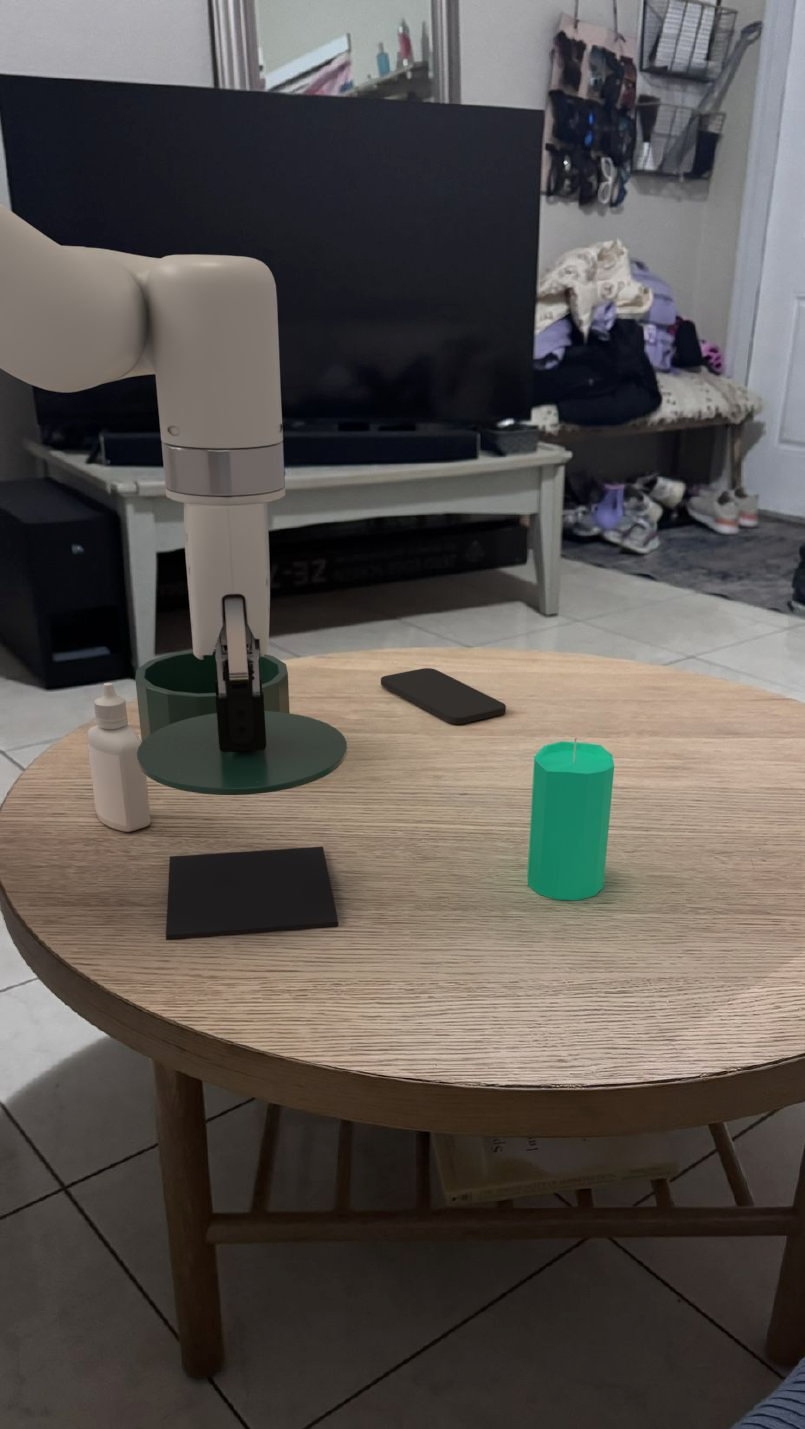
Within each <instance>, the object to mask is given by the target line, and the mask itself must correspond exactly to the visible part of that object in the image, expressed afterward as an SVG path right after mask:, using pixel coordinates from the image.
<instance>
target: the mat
mask: <svg viewBox="0 0 805 1429" xmlns="http://www.w3.org/2000/svg"><path fill="white" fill-rule="evenodd" d="M330 879H331V878H330V874H329V869H328V864H327V860H326V855H325V850H324V846H310V847H309V846H307V847H294V848H279V849H277V848H276V849H265V850H264V849H263V850H247V851H233V852H231V851H230V852H218V853H217V852H216V853H203V854H201V853H200V854H187V855H173V856H172V855H171V856H169V867H168V882H167V884H168V886H167V902H166V903H167V904H166V924H165V939H166V940H167V941H168V940H179V939H180V940H181V939H192V938H194V939H195V938H204V937H216V936H217V937H219V936H229V935H231V936H232V935H244V934H255V933H257V934H258V933H268V932H280V931H281V932H283V931H293V930H294V931H295V930H306V929H307V930H308V929H318V928H319V929H320V928H332V927H339V919H338V918H339V917H338V912H337V908H336V903H335V898H334V894H333V888H332V882H331V880H330Z"/></svg>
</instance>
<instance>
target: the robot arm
mask: <svg viewBox="0 0 805 1429" xmlns="http://www.w3.org/2000/svg"><path fill="white" fill-rule="evenodd" d="M276 284H277V283H276V281H275V277H274V275H273V273H272V271H271V270H270V268H269V267H268V265H266V263H264V262H263V261H261V260H259V259H256V258H254V257H248V256H241V255H226V254H222V255H221V254H171V255H165V256H163V257H161V258H160V257H159V258H158V257H150V256H145V255H139V254H133V253H127V252H122V251H118V250H111V249H106V248H99V247H86V246H77V245H76V246H74V245H61V244H59V243H57V241H54V240H53V239H51V238H50V237H48V236H47V235H45V234H44V233H42V232H41V231H40V230H39V229H37V228H35V227H34V226H33V225H31V224H30V223H28V222H27V221H26V220H24V219H23V218H21V217H20V216H18V215H17V214H16V213H15V212H13V211H12V210H10V209H9V208H8V207H6V205H3V204H2V203H0V370H2V371H3V372H6V373H7V374H9V375H11V376H12V377H15V378H17V379H19V380H21V381H23V382H25V383H26V384H29V385H31V386H34V387H37V388H39V389H43V390H45V391H50V392H56V393H77V392H81V391H84V390H89V389H92V388H94V387H97V386H100V385H103V384H107V383H108V384H109V383H112V382H116V381H120V380H123V379H127V378H132V377H140V376H149V375H154V376H155V384H156V385H155V386H156V398H157V408H158V409H157V410H158V417H159V418H158V419H159V431H160V441H161V453H162V462H163V473H164V474H163V476H164V486H165V487H164V488H165V489H164V490H165V496H166V498H167V499H170V500H171V501H175V502H178V503H183V533H184V534H183V535H184V553H185V554H184V555H185V568H186V578H187V591H188V592H187V593H188V603H189V616H190V627H191V629H190V630H191V642H192V650H193V654H194V655H195V656H196V657H197V658H198V659H200V660H204V655H212V654H213V652H214V649H216V654H215V659H216V661H217V675H218V680H215V688H216V695H215V697H216V710H217V724H218V737H219V748H220V750H221V751H223V752H238V751H257V750H263V749H265V748H266V729H265V711H264V694H263V693H262V681H261V678H259V665H258V659H259V655H260V657H262V656H264V655H265V654H266V655H267V653H268V652H269V642H270V641H269V640H270V618H271V617H270V614H271V612H270V610H271V609H270V608H271V569H270V568H271V566H270V565H271V564H270V538H269V520H268V519H269V515H268V503H269V502H270V503H271V502H274V501H277V500H280V499H282V498H284V497H285V496H286V478H285V477H286V476H285V457H284V456H285V455H284V452H285V451H284V434H283V433H284V432H283V431H284V430H283V411H282V410H283V409H282V391H281V366H280V365H281V364H280V339H279V319H278V315H279V314H278V294H277V285H276ZM224 649H225V650H224ZM258 652H259V655H258ZM225 664H226V667H225ZM226 683H227V688H226Z"/></svg>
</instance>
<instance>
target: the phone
mask: <svg viewBox="0 0 805 1429" xmlns="http://www.w3.org/2000/svg"><path fill="white" fill-rule="evenodd" d="M380 685H381V687H383V688H385V689H387V690H389V691H391V692H392V693H394V694H396V695H398V696H399V697H402V698H403V699H405V700H407V701H409V702H411V703H412V704H415V705H416V706H417V707H420V708H421V709H423V710H425V711H427V712H428V713H431V714H432V715H434V716H436V717H437V718H439V719H441V720H444V721H445V722H447V723H450V724H454V725H461V724H466V723H471V722H476V721H479V720H484V719H488V718H493V717H497V716H501V715H504V714H505V713H506V711H507V705H506V704H505V703H504V702H501V701H500V700H498V699H496V698H494V697H492V696H490V695H488V694H486V693H484V692H482V691H479V690H478V689H476V688H474V687H472V686H470V685H468V684H466V683H465V682H462V681H460V680H458V679H456V678H454V677H452V676H450V675H448V674H446V673H444V672H442V671H439V670H438V669H435V668H430V667H423V668H418V669H412V670H408V671H403V672H402V671H401V672H398V673H393V674H389V675H384V676H382V677H381V678H380Z"/></svg>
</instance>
